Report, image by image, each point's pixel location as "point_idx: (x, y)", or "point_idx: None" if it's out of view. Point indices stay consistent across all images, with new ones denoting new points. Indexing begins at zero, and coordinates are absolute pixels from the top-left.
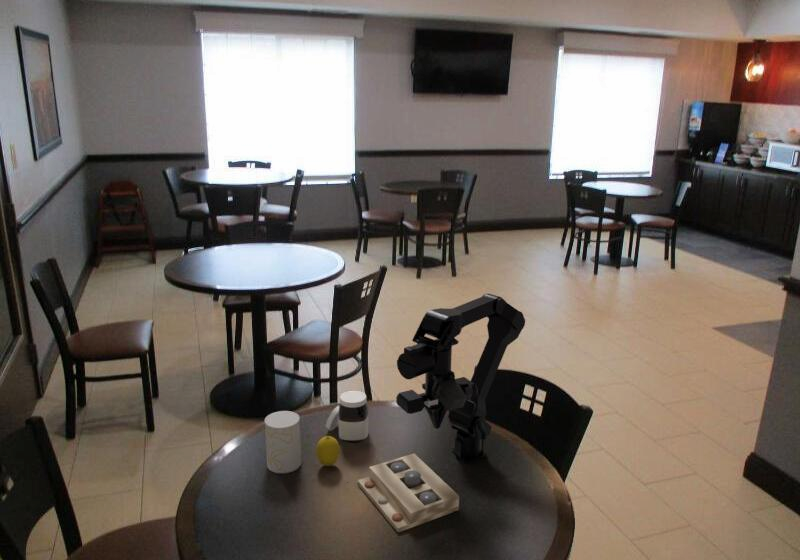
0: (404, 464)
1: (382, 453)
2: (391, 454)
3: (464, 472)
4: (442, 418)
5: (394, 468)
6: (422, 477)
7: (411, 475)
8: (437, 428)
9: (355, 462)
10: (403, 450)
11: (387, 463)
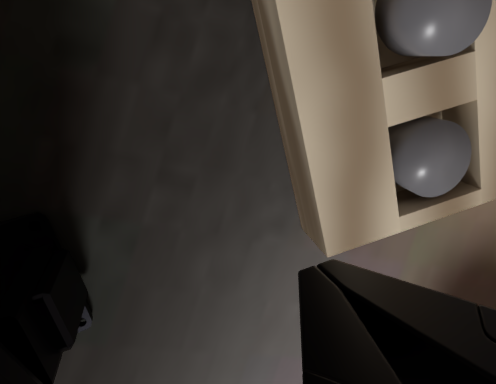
0: (405, 169)
1: None
2: None
3: (74, 136)
4: (320, 338)
5: (459, 145)
6: (365, 26)
7: (456, 3)
8: (321, 263)
9: (492, 282)
10: None
11: (470, 194)
